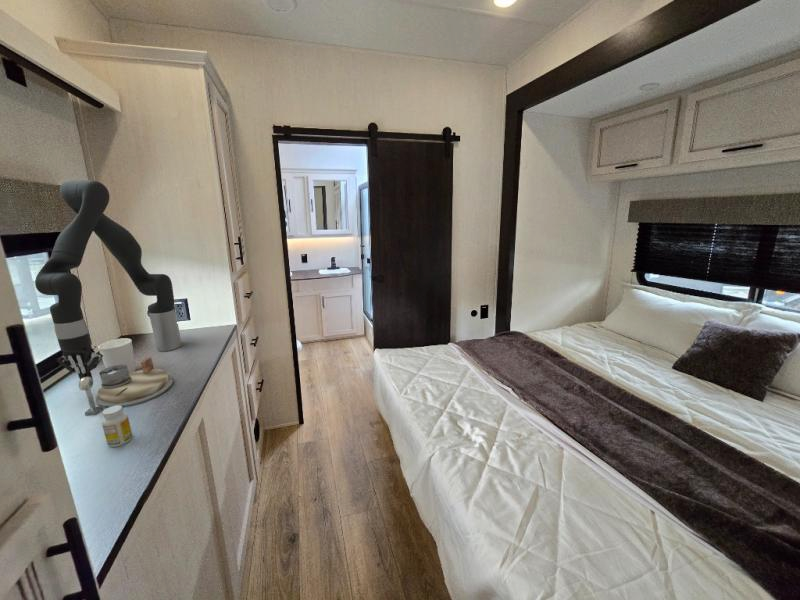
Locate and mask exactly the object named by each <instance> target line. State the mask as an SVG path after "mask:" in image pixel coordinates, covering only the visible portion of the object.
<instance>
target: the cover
mask: <svg viewBox="0 0 800 600" xmlns="http://www.w3.org/2000/svg"><path fill="white" fill-rule="evenodd" d="M99 376H100V379H101V386H102V388H103V389H113V388H118V387H121V386H124V385H126V384H128V383H129V382H130V381H131V380H132V379H131V376H129V372H128V368H127V366H126V365H116V366H111V367H108V368H104V369H102V370H101V371H99Z"/></svg>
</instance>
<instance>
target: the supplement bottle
mask: <svg viewBox="0 0 800 600" xmlns="http://www.w3.org/2000/svg"><path fill="white" fill-rule="evenodd" d="M123 408H124V407H122V406H119V405H117V406H112V407H109V408H104V409H103V410H102V416H103V419H102V420H101V426H102V427H101V428H102V430H103V434H104V436H105V440H106V441H105V442H106V445H107V446H108V447H110V448H111V447H112V448H116V447H119V446H123V445H125V444H127V443H129V442H130V441H131V440H132V438H133V431H132V427H131V425H130V421H129V420H130V419H129V416H128V414H127V412H126V411H124V409H123Z"/></svg>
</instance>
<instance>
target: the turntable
mask: <svg viewBox="0 0 800 600" xmlns="http://www.w3.org/2000/svg"><path fill="white" fill-rule="evenodd" d="M140 365H141V370H135V371H134V372H131V373H129V376H131V379H132V380H131V381H130V382H129V383H128V384H126V385H124V386H121V387H118V388H113V389H103V388H102V385H101V386H100V387H99V388H98V390H97V395H99V398H100V400H101V401H103V402H107V403H120V402H127V401H132V400H136V399H139V398H142V397H145V396H148V395H150V394H152V393H154V392H156V391H158V390H160V389H161V388H163V387H164V386H165V385H166V384H167V383H168V381H169V377H168V375H169V374H168V371H167V370H164V369H160V368H154V364H153V359H152V357H151V356H148V357H146V358H144V359H143V360H142V361H140Z"/></svg>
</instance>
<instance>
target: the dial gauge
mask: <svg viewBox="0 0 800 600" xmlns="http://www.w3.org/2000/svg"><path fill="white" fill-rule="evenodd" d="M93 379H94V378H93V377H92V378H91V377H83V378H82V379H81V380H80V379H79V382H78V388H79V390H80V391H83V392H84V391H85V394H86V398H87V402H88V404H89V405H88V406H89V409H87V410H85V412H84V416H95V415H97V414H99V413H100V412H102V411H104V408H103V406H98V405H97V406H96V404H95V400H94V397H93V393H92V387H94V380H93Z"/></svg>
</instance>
